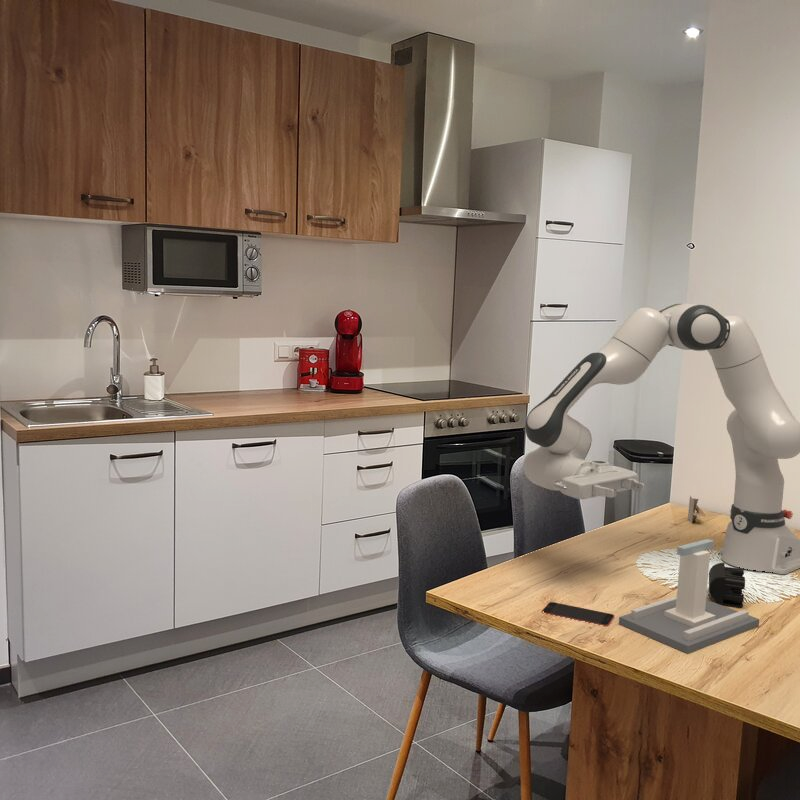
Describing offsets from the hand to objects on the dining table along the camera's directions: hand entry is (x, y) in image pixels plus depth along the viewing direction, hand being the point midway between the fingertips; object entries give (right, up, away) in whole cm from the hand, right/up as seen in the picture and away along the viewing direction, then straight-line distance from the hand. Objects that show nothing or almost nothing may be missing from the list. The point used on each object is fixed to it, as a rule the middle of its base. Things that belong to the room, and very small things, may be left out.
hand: (628, 490), depth 183 cm
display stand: (+8, -24, -15) cm, 30 cm away
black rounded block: (+21, -24, 0) cm, 32 cm away
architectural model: (+36, -16, +62) cm, 73 cm away
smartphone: (-14, -25, -11) cm, 30 cm away
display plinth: (+8, -25, -15) cm, 31 cm away
